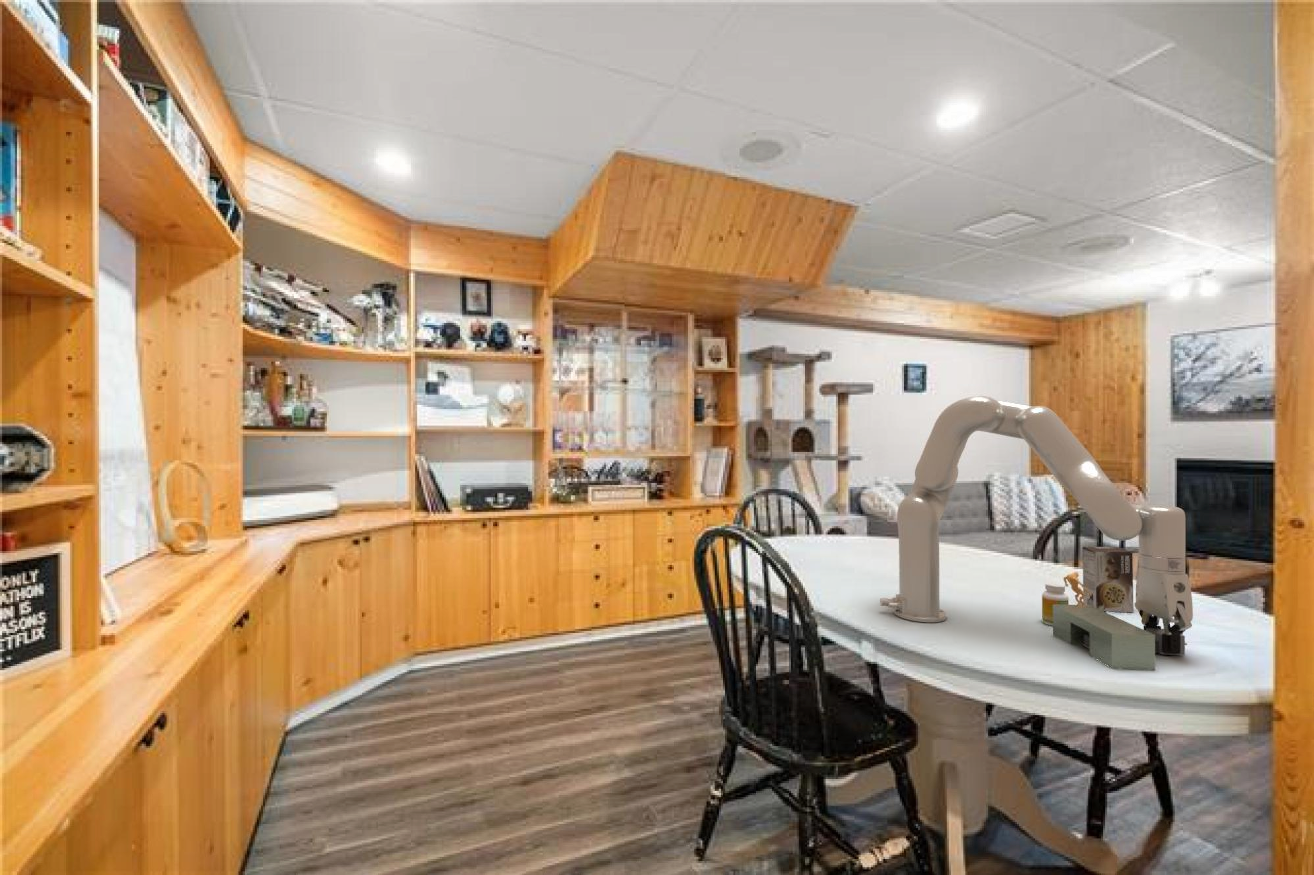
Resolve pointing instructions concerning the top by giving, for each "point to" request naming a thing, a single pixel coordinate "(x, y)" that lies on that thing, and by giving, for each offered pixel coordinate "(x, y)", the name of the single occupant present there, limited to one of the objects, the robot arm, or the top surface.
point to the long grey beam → (1158, 641)
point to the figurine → (1076, 586)
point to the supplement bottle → (1052, 600)
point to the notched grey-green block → (1105, 636)
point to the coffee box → (1108, 578)
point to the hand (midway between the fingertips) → (1161, 647)
